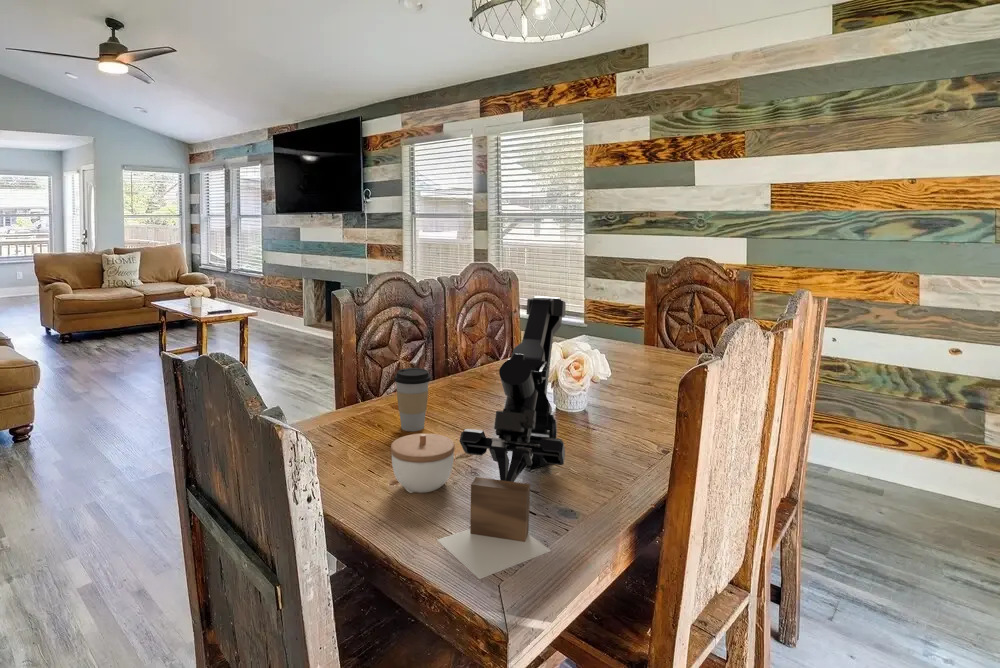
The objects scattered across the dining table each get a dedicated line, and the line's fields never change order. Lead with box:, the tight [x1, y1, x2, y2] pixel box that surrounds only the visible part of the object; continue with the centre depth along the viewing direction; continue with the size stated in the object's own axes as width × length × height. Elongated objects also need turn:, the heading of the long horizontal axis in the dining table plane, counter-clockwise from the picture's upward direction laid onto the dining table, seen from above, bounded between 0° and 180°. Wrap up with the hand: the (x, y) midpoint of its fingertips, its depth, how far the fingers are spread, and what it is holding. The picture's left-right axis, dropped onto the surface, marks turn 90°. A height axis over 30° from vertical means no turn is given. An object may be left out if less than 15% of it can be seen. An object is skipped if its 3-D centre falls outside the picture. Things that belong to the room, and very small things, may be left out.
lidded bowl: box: [390, 433, 456, 494], centre depth 117 cm, size 13×13×11 cm
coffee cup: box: [393, 367, 432, 432], centre depth 150 cm, size 9×9×15 cm
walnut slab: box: [469, 476, 531, 542], centre depth 99 cm, size 3×10×9 cm, turn 76°
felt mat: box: [436, 528, 552, 580], centre depth 96 cm, size 13×14×1 cm
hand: (504, 491), depth 101 cm, fingers closed
